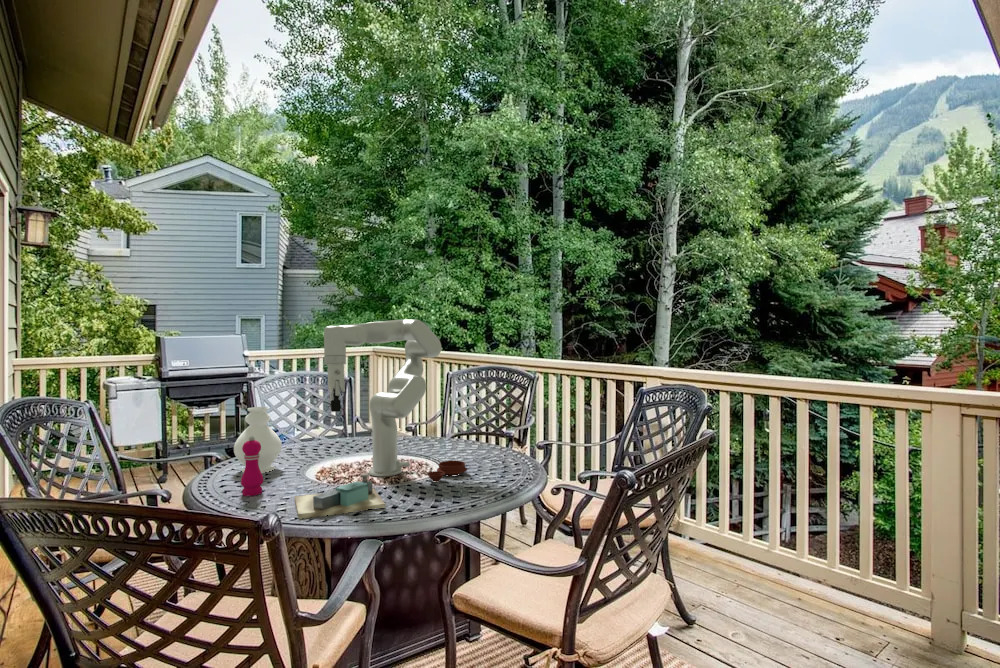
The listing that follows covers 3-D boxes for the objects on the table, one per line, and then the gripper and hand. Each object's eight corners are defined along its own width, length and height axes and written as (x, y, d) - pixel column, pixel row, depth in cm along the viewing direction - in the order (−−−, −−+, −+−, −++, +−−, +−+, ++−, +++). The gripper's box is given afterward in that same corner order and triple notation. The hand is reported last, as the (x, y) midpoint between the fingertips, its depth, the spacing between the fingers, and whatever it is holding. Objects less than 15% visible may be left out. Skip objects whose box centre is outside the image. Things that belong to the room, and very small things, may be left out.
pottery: (472, 473, 232) (472, 462, 232) (444, 485, 214) (444, 473, 214) (447, 469, 237) (447, 458, 237) (418, 481, 220) (418, 469, 220)
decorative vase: (288, 464, 247) (287, 404, 247) (272, 475, 229) (272, 411, 229) (244, 465, 247) (244, 405, 246) (226, 476, 229) (225, 411, 229)
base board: (373, 492, 206) (373, 469, 206) (385, 508, 187) (385, 483, 187) (294, 500, 196) (294, 477, 196) (298, 519, 178) (298, 492, 177)
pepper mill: (245, 490, 208) (244, 434, 208) (266, 490, 209) (265, 433, 209) (237, 496, 201) (237, 438, 201) (259, 496, 202) (259, 437, 201)
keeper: (357, 496, 195) (357, 481, 195) (368, 499, 192) (368, 483, 192) (336, 503, 188) (335, 487, 188) (347, 506, 185) (347, 490, 185)
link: (364, 490, 202) (364, 479, 202) (375, 492, 200) (375, 481, 200) (312, 507, 183) (312, 496, 183) (323, 510, 181) (323, 498, 180)
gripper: (348, 361, 208) (349, 413, 208) (343, 358, 221) (343, 408, 222) (326, 361, 205) (327, 414, 205) (322, 359, 219) (322, 409, 219)
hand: (335, 411), depth 213 cm, fingers closed
